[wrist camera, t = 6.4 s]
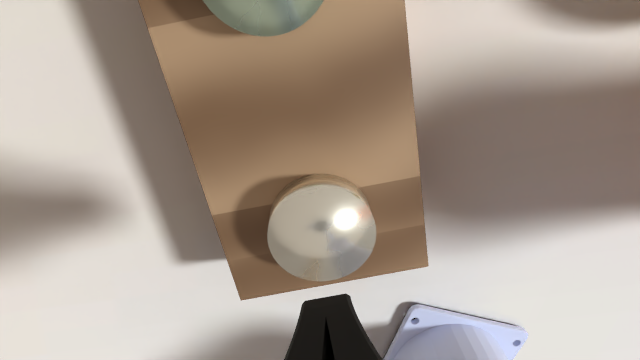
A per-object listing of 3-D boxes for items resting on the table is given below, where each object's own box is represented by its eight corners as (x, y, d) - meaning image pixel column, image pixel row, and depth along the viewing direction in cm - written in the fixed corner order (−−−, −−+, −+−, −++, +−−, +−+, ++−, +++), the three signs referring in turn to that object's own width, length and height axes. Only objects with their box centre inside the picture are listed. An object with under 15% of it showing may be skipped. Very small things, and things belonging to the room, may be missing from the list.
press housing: (409, 227, 22) (428, 266, 18) (249, 257, 22) (240, 300, 19) (367, -156, 15) (386, -202, 12) (135, -106, 15) (91, -137, 12)
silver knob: (365, 218, 21) (382, 271, 17) (284, 234, 21) (280, 289, 17) (353, 141, 19) (368, 177, 15) (264, 158, 19) (255, 199, 15)
